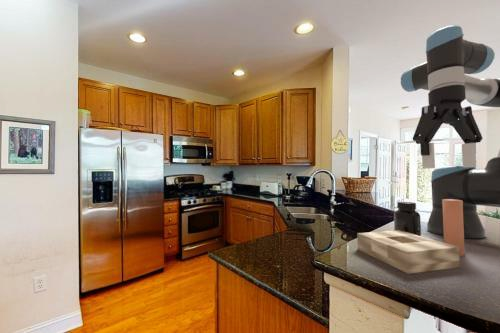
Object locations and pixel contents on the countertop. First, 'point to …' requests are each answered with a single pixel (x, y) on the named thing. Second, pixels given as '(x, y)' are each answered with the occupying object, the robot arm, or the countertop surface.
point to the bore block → (409, 251)
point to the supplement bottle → (407, 218)
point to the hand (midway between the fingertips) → (449, 168)
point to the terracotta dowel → (453, 223)
